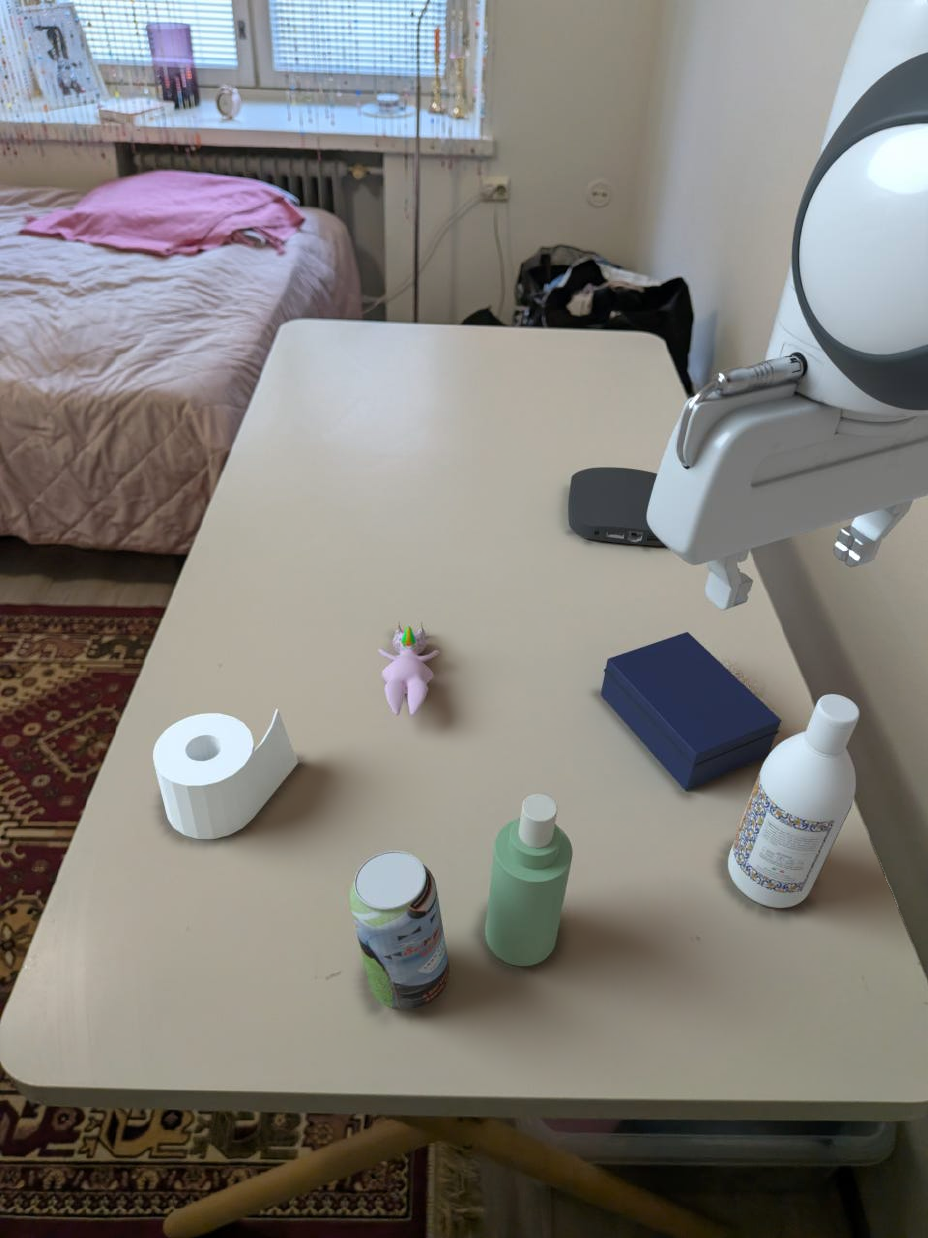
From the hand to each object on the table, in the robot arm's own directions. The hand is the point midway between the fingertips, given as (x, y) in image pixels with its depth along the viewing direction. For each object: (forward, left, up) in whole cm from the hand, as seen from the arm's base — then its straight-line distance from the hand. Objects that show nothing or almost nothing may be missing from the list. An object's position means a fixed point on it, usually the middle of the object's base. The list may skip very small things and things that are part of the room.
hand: (789, 579), depth 52 cm
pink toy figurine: (+35, +7, -35) cm, 50 cm away
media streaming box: (+52, -32, -35) cm, 71 cm away
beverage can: (+6, +21, -35) cm, 41 cm away
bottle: (+5, +11, -35) cm, 37 cm away
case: (+18, -15, -35) cm, 42 cm away
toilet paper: (+28, +27, -35) cm, 53 cm away
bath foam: (+1, -11, -35) cm, 37 cm away
